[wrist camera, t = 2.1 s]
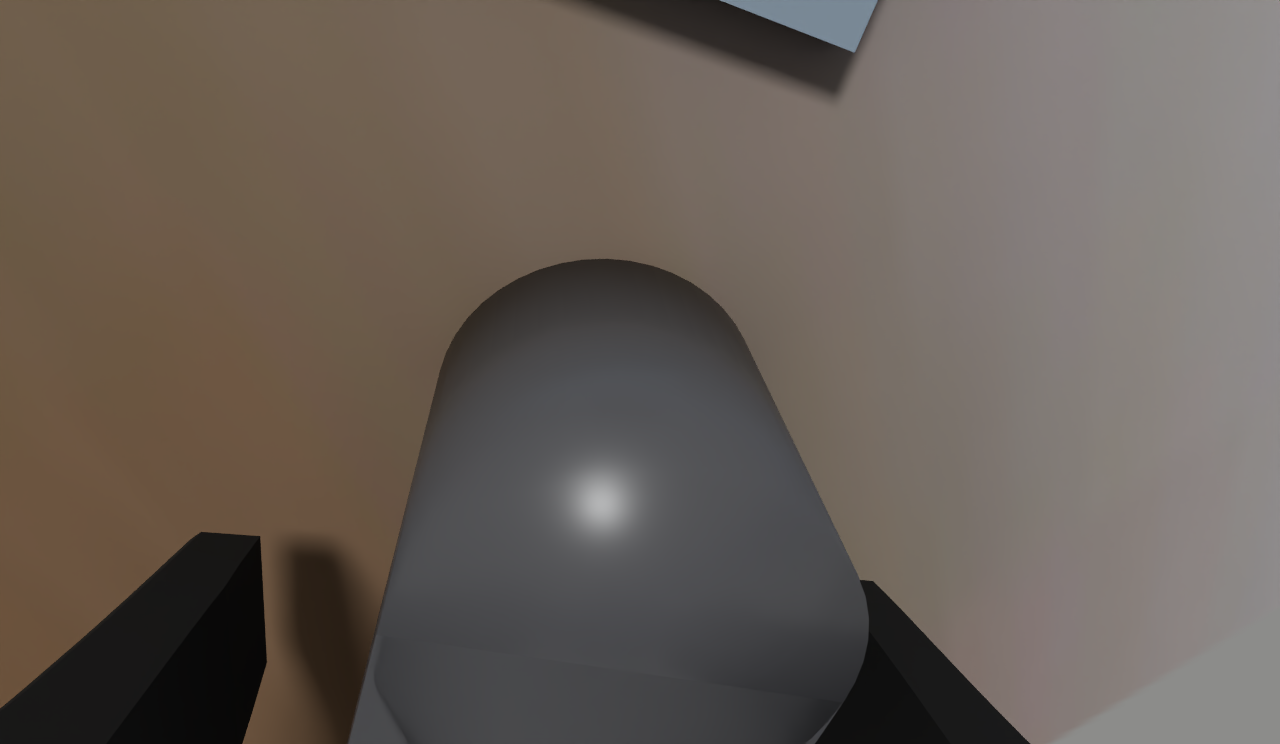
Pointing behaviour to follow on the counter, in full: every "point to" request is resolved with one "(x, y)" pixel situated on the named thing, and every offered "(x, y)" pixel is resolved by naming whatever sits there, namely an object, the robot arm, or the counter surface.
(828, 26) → the rubber mat
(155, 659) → the robot arm
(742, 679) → the connector
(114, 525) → the counter surface
